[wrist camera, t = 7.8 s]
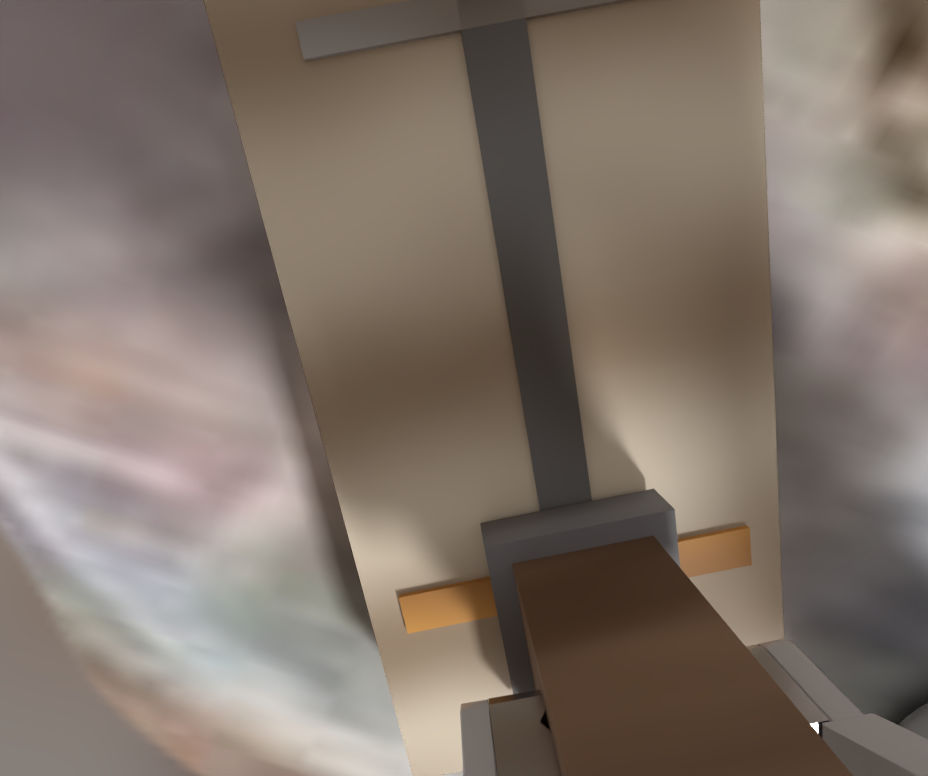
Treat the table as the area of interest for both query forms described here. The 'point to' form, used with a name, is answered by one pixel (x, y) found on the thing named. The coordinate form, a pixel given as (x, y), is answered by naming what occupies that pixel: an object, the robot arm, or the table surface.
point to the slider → (636, 650)
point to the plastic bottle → (917, 721)
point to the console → (518, 293)
